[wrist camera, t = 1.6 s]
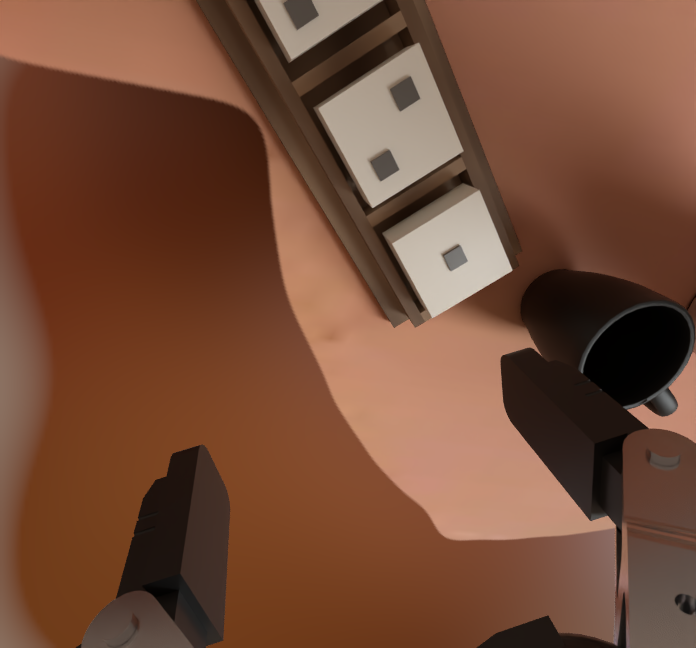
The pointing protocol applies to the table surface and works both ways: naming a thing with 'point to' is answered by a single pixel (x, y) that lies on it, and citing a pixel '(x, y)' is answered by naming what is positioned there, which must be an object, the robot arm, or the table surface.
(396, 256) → the tile one
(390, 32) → the board
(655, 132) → the table surface
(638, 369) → the mug
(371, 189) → the tile two
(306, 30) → the tile three
